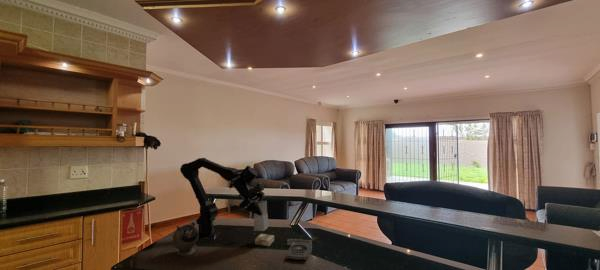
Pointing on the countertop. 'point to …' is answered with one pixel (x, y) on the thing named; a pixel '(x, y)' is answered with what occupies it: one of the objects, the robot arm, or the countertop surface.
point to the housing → (261, 217)
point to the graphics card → (299, 249)
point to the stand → (264, 239)
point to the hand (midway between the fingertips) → (263, 213)
